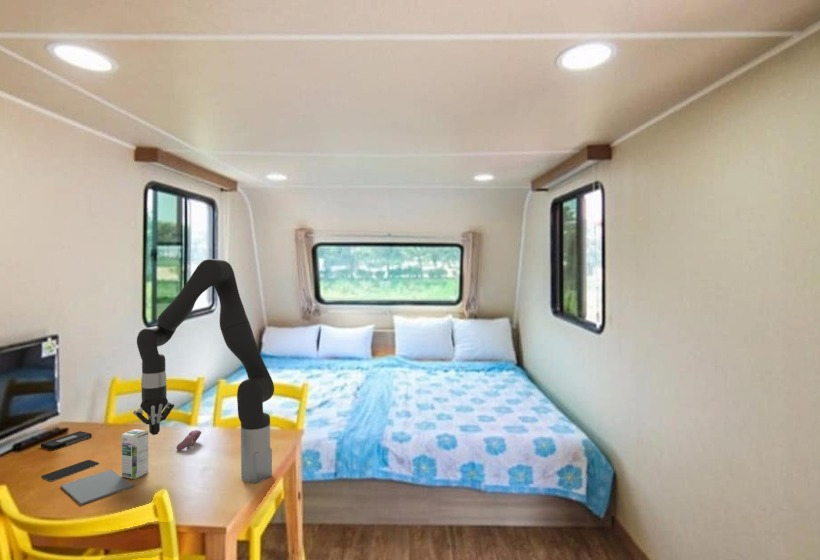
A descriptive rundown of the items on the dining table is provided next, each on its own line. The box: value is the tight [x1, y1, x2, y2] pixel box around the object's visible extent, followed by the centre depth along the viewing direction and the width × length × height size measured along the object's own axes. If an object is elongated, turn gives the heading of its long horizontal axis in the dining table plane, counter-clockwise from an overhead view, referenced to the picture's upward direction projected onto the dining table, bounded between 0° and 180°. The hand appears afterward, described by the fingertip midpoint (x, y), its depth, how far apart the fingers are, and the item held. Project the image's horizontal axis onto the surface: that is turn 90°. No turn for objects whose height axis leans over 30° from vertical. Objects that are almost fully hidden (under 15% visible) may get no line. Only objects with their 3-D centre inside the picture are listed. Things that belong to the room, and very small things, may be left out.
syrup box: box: [121, 428, 149, 480], centre depth 151 cm, size 6×6×14 cm
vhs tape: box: [40, 430, 92, 451], centre depth 180 cm, size 8×14×2 cm, turn 158°
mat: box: [60, 469, 134, 506], centre depth 143 cm, size 18×14×1 cm
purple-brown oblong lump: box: [176, 429, 202, 451], centre depth 176 cm, size 10×5×7 cm, turn 179°
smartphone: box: [40, 459, 100, 482], centre depth 155 cm, size 7×1×15 cm
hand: (154, 434), depth 156 cm, fingers closed
